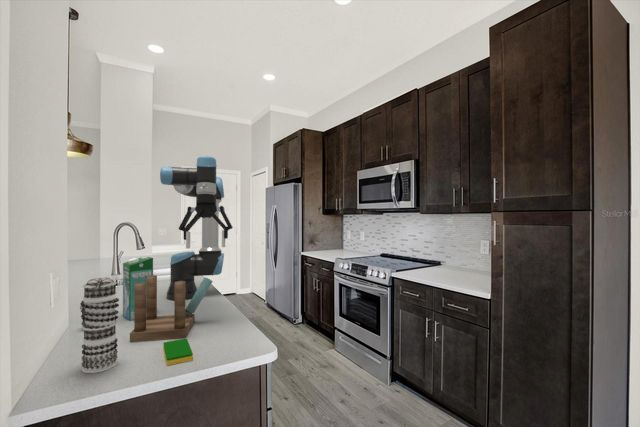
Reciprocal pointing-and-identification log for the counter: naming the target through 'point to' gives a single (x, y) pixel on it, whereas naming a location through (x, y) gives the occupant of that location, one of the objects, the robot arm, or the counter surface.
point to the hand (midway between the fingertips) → (205, 247)
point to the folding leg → (199, 295)
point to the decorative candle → (99, 325)
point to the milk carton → (134, 281)
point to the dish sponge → (177, 351)
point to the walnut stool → (159, 326)
